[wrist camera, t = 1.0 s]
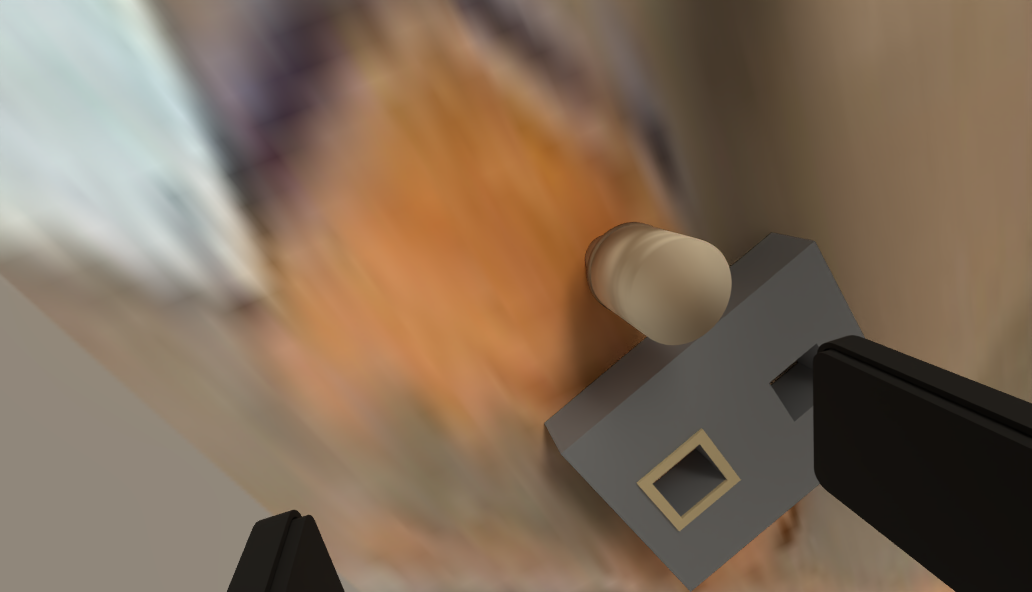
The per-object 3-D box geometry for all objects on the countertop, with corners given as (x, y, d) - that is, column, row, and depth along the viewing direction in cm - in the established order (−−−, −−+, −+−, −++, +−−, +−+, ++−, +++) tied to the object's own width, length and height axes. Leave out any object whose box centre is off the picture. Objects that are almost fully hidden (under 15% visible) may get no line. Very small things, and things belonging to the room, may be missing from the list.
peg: (616, 198, 32) (698, 213, 23) (659, 261, 34) (750, 297, 25) (551, 252, 32) (608, 288, 23) (597, 312, 34) (667, 367, 25)
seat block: (771, 232, 36) (817, 241, 32) (858, 390, 42) (906, 414, 38) (544, 423, 36) (561, 455, 32) (664, 553, 42) (692, 593, 38)
